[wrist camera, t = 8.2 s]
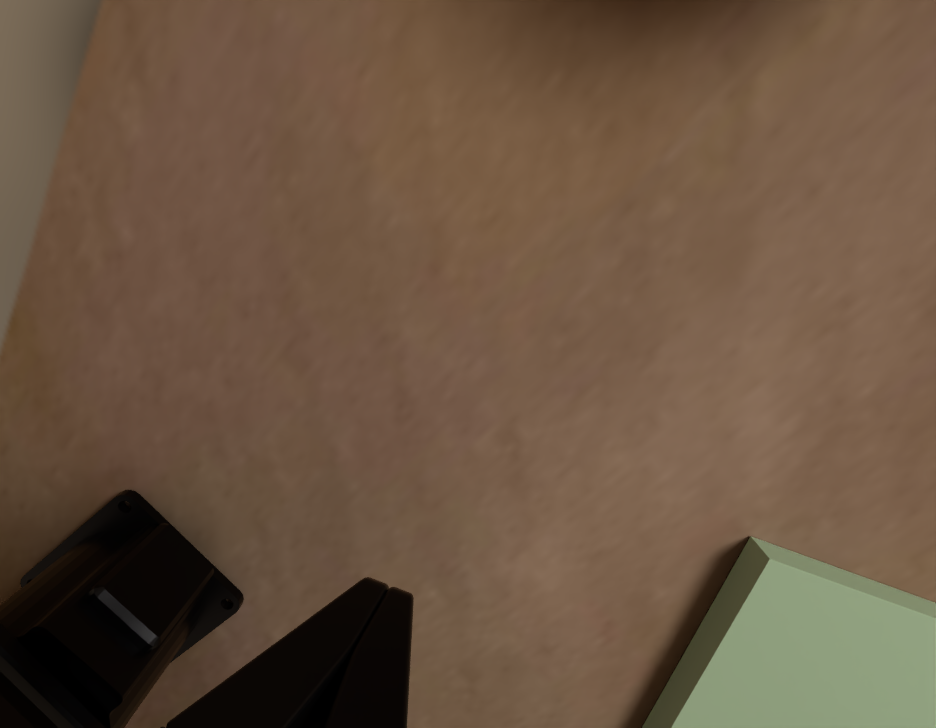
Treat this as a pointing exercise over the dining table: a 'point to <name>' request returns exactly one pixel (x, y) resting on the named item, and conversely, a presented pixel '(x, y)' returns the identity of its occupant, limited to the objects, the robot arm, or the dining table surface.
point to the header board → (804, 651)
